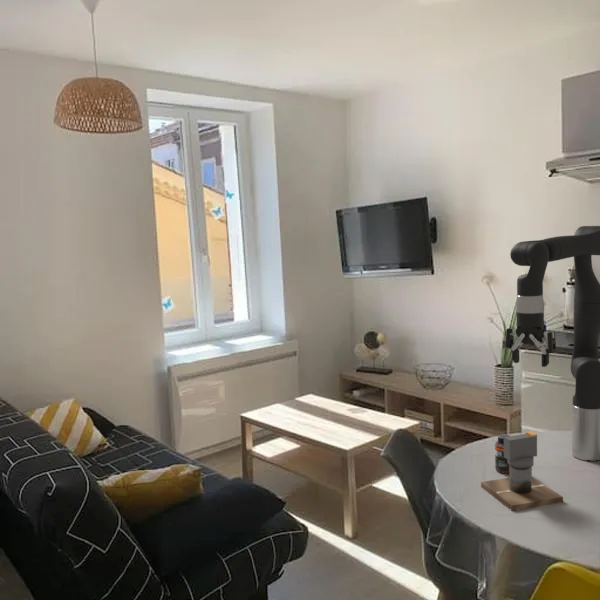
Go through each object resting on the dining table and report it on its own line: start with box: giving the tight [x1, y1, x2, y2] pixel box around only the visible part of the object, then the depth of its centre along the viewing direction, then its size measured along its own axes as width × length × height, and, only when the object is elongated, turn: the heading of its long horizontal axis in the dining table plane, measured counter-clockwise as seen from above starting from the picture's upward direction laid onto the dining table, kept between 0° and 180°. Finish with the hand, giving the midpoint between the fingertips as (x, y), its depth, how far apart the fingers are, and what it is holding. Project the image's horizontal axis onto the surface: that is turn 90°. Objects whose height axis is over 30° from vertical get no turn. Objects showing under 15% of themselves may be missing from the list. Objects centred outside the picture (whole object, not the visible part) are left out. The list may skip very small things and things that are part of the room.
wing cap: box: [504, 430, 538, 468], centre depth 172 cm, size 9×7×8 cm
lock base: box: [480, 465, 564, 511], centre depth 173 cm, size 16×16×9 cm
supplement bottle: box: [494, 433, 511, 474], centre depth 190 cm, size 6×6×11 cm
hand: (530, 364), depth 178 cm, fingers open, 8 cm apart
